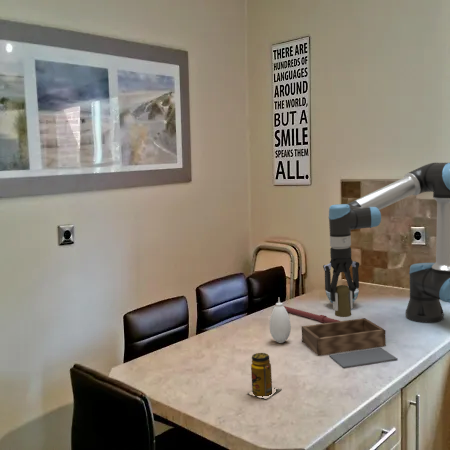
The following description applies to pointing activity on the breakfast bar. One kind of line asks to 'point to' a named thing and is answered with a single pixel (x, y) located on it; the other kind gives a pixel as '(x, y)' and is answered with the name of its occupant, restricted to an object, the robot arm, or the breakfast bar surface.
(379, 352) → the charcoal mat
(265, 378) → the condiment
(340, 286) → the olive dumbbell shape
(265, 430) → the breakfast bar surface
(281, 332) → the white bulb air blower
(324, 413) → the breakfast bar surface
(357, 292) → the chinaware
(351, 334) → the wooden box
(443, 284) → the robot arm
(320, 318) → the red rod with collar
